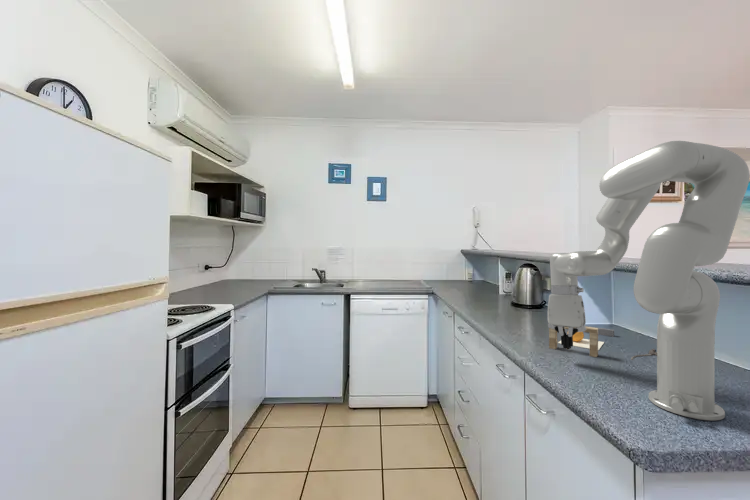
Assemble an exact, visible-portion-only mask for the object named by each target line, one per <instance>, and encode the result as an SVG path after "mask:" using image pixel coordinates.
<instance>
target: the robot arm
mask: <svg viewBox="0 0 750 500" xmlns="http://www.w3.org/2000/svg"><path fill="white" fill-rule="evenodd" d="M666 182H674V183H675V182H677V183H689V184H692V185H693V186H694V188H693V189H692V191H691V192H690V193H689V195H688V197H687V198H686V199H685V201H684V204H683V208H682V212H681V215H680V217H679V221H678V222H673V223H667V224H664V225H661V226H659V227H658V228H656V229H655V230H654V231H652V233H651V234H650V235H649V236H648V237H647V238H646V241H645V243H644V245H643V249H642V252H641V256H640V259H639V264H638V268H637V271H636V275H635V279H634V282H633V295H634V299H635V300H636V303H637V304H638V305H639V306H640V307H641V308H643V309H644V310H645V311H648V312H649V313H653V314H657V315H659V316H658V320H657V325H656V326H657V328H656V329H657V332H656V334H657V335H656V352H657V356H656V389H655V390H651V391H650V392H648V399H649V401H650V402H651V403H652V404H653V405H655V406H657V407H659V408H661V409H663V410H665V411H668V412H669V413H670V412H671V413H673V414H676V415H679V416H683V417H686V418H691V419H696V420H702V421H711V422H712V421H713V422H714V421H721V420H723V419H725V417H726V410H724V409H723V407H721V406H720V405H718V404H717V403H715V370H716V369H715V368H716V367H715V360H716V359H715V358H716V357H715V354H716V353H715V352H716V351H715V343H716V321H717V315H718V311H719V306H720V301H721V295H720V294H721V292H720V289H719V287H718V284H717V282H716V281H714V280H713V278H712V277H710V276H709V275H707V274H705V273H703V272H700V271H696V270H694V269H695V267H704V266H711V265H714V264H716V263H718V262H719V261H721V260H722V259H724V257H725V255H726V253H727V251H728V248H729V245H730V241H731V237H732V235H733V232H734V228H735V226H736V223H737V220H738V217H739V214H740V210H741V205H742V204H743V201H744V197H745V195H746V193H747V189H748V186H749V183H750V170H749V166H748V164H747V162H746V161H745V160H744V159H743V157H741V156H740V155H739V154H737V153H736V152H733V151H732V150H729V149H727V148H724V147H720V146H716V145H712V144H707V143H700V142H693V141H686V140H671V141H667V142H666V141H665V142H662V143H660V144H658V145H655V146H652V147H650V148H648V149H646V150H644V151H642V152H640V153H638V154H635V155H634V156H632V157H630V158H627V159H625V160H623V161H620V162H618V163H617V164H615V165H614V166H612V167H610V168H609V169H608V170H606V172H605V173H604V174H603V176H602V177H601V179H600V180H599V185H598V186H599V191H600V193H601V195H603V196H604V197H606V198H607V199H606V201H605V203H603V206H601V208H600V210H599V212H598V213H597V214H596V218H595V219H596V222H597V223H598V224H599V226H601V227H603V228H604V232H605V233H604V236H603V237H604V238H603V240H602V241H601V243H600V245H599V246H598V247H597V248H596V250H585V251H584V250H583V251H582V250H581V251H572V252H559V253H558V252H555V253H552V254H551V255H550V256H549V264H550V265H549V266H550V270H549V271H550V287H551V290H550V291H551V293H550V294H549V295H548V302H547V327H548V329H549V328H551V329H555V330H556V331H557V334H559V336H560V341H561V344H560V345H561V346H563V347H562V348H563V350H566V349H567V350H570V349H572V347H574V346H573V335H574V334H575V333H577V332H583V333H585V332H584V331H586V327H585V326H586V310H585V303H584V300H583V296H582V295H579V294H580V293H584V288H583V287H580V286H579V282H578V277H591V276H592V277H593V276H604V275H607V274H609V273H610V272H612V271H613V270H614V269H615V268H616V266H618V264H619V263H620V262H621V260H622V259H623V257H624V256H625V254H626V252H627V250H628V247H629V243H630V230H631V229H632V227H633V226H634V225H635V223H636V222H637V220H638V218H640V216H641V215H642V214H643V212H644V210H645V209H647V207H648V205H649V204H650V203H651V201H652V199H653V198H654V196H655V195H656V194H657V192H658V190H660V187H661V185H662V183H666ZM565 327H569V328H568V329H567V332H568V334H567V332H566V329H565Z"/></svg>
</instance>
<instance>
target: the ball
mask: <svg viewBox="0 0 750 500" xmlns="http://www.w3.org/2000/svg"><path fill="white" fill-rule="evenodd" d="M584 333H585V332H577V333H575V334H574V335H573V341H575V342H579V341H581V340H582V339H585V338H584V337H585V334H584ZM567 334H568V331H567V332H566V335H567Z"/></svg>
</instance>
